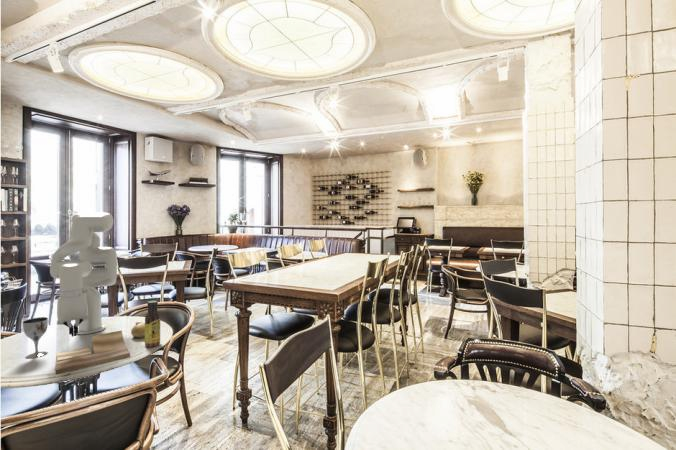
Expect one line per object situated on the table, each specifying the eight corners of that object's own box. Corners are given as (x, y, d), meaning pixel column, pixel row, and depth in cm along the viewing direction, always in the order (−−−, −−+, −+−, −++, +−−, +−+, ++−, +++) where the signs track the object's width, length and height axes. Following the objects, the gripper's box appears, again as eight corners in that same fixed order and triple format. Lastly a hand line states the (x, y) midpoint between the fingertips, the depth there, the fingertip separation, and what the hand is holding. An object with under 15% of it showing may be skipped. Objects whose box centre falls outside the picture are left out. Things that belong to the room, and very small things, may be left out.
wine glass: (53, 352, 146) (52, 318, 145) (31, 360, 139) (30, 324, 138) (41, 350, 149) (40, 316, 148) (19, 357, 141) (17, 322, 141)
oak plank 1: (56, 357, 142) (56, 353, 142) (89, 350, 150) (89, 347, 150) (57, 364, 135) (57, 360, 135) (91, 356, 142) (91, 353, 142)
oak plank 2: (92, 338, 149) (92, 336, 148) (121, 332, 156) (121, 330, 155) (94, 355, 142) (94, 353, 142) (124, 348, 150) (125, 346, 149)
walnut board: (55, 365, 134) (55, 362, 134) (126, 349, 149) (126, 346, 149) (55, 373, 127) (55, 370, 127) (130, 356, 142) (130, 352, 142)
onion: (150, 332, 170) (150, 318, 170) (149, 337, 163) (149, 323, 163) (132, 335, 167) (131, 320, 167) (130, 340, 160) (129, 325, 159)
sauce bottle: (153, 348, 150) (152, 304, 149) (141, 347, 152) (140, 303, 151) (164, 342, 157) (163, 300, 156) (152, 341, 158) (151, 299, 157)
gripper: (92, 288, 150) (94, 328, 152) (48, 294, 141) (50, 336, 142) (94, 292, 145) (96, 333, 146) (48, 298, 135) (50, 342, 137)
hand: (73, 335), depth 144 cm, fingers closed
